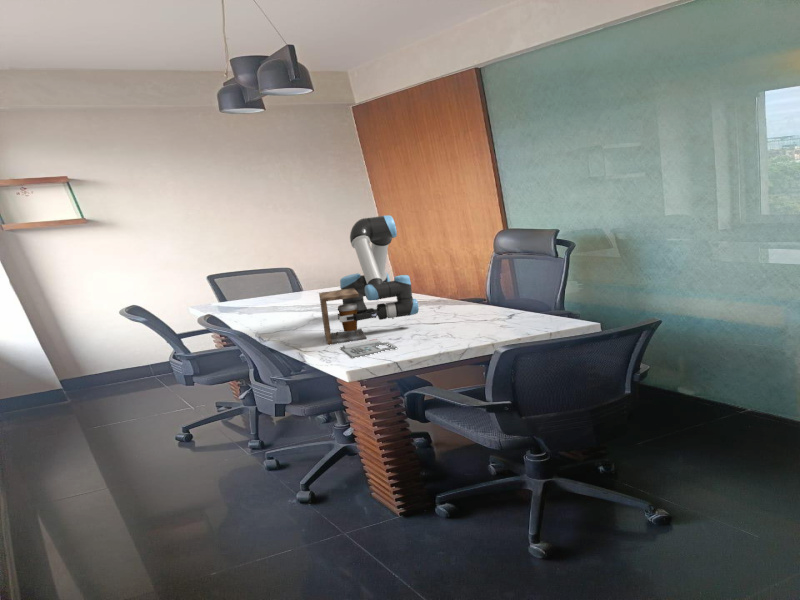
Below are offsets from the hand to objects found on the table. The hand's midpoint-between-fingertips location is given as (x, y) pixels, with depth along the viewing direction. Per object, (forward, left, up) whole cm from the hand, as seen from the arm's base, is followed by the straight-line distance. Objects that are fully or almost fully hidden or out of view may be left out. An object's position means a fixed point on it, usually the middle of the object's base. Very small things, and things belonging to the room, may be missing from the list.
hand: (338, 317), depth 319 cm
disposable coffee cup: (-4, +2, -7) cm, 8 cm away
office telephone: (+2, +33, -11) cm, 34 cm away
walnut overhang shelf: (-2, 0, -10) cm, 10 cm away
